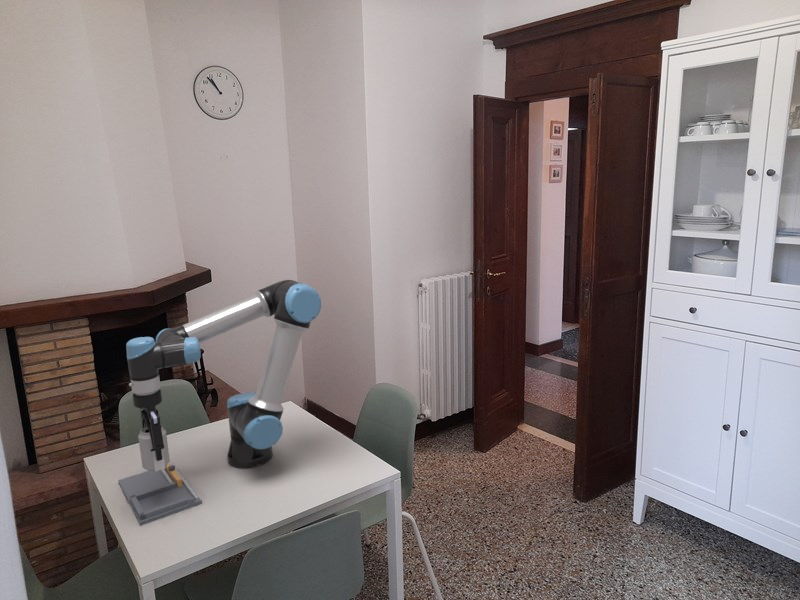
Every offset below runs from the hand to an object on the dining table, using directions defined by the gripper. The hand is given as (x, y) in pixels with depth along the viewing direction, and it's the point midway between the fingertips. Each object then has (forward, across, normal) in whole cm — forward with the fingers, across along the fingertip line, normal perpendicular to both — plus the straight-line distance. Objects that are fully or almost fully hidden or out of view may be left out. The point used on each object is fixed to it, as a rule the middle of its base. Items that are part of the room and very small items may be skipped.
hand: (156, 464), depth 168 cm
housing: (+13, -8, +1) cm, 15 cm away
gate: (+12, -14, +7) cm, 19 cm away
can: (+1, 0, 0) cm, 1 cm away
